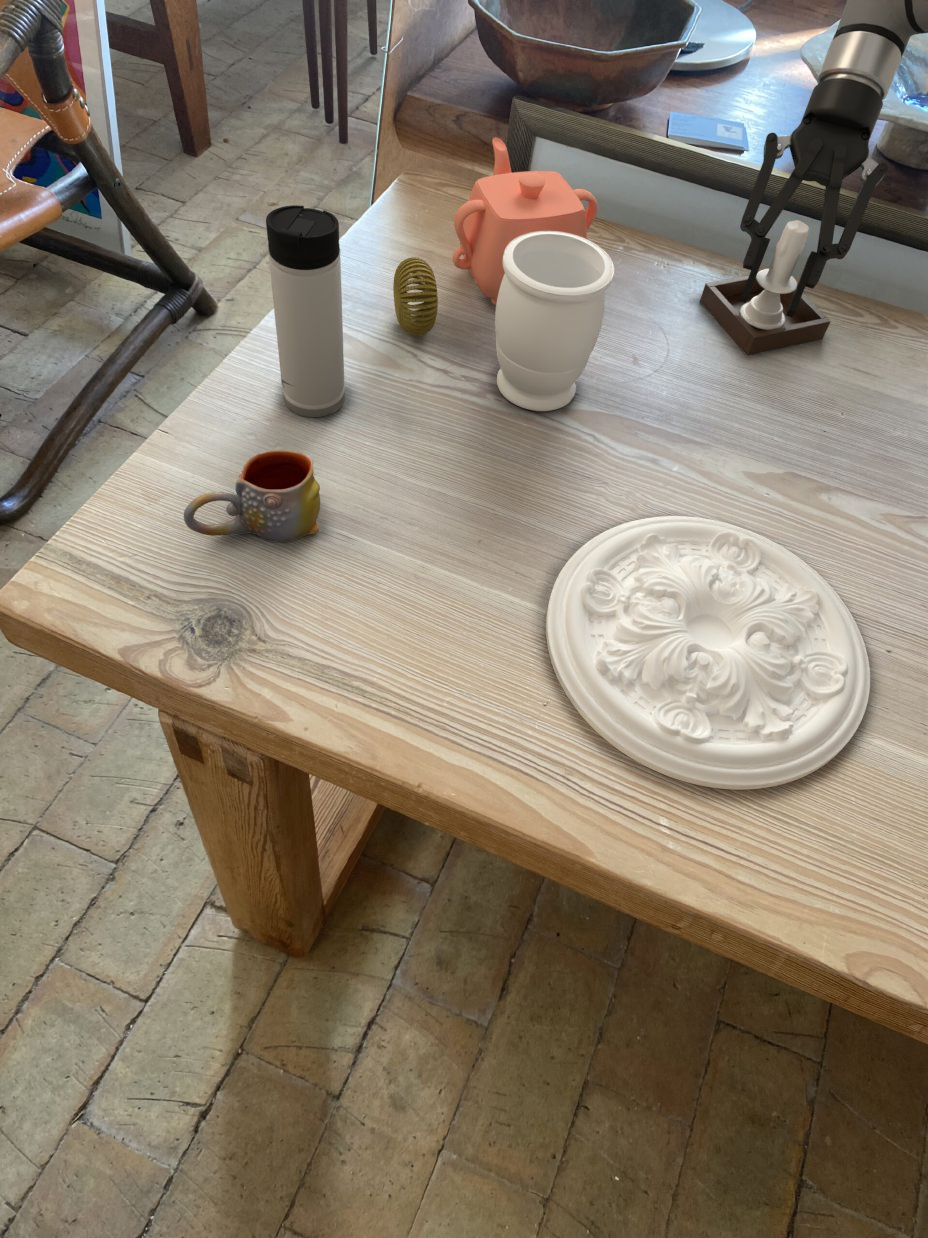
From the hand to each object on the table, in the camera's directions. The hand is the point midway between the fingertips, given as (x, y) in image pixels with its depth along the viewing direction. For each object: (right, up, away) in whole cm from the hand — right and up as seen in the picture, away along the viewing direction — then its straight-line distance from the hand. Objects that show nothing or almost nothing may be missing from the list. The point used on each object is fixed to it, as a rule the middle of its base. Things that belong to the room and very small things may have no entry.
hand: (767, 305), depth 102 cm
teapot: (-28, +5, +6) cm, 29 cm away
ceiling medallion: (-13, -37, -23) cm, 46 cm away
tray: (+1, 0, +6) cm, 6 cm away
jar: (-26, -10, -5) cm, 29 cm away
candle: (+1, 0, +5) cm, 5 cm away
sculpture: (-40, -3, 0) cm, 40 cm away
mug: (-53, -27, -19) cm, 62 cm away
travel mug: (-49, -13, -9) cm, 52 cm away
